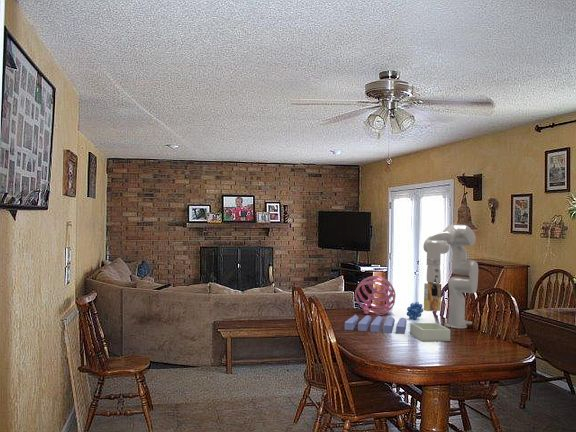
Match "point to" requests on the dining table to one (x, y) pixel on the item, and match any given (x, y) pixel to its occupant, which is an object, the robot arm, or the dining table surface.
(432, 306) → the candy box
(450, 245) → the robot arm
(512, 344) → the dining table surface
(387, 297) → the pink lattice ball
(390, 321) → the blocks
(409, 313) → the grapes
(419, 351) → the dining table surface
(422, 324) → the crate
